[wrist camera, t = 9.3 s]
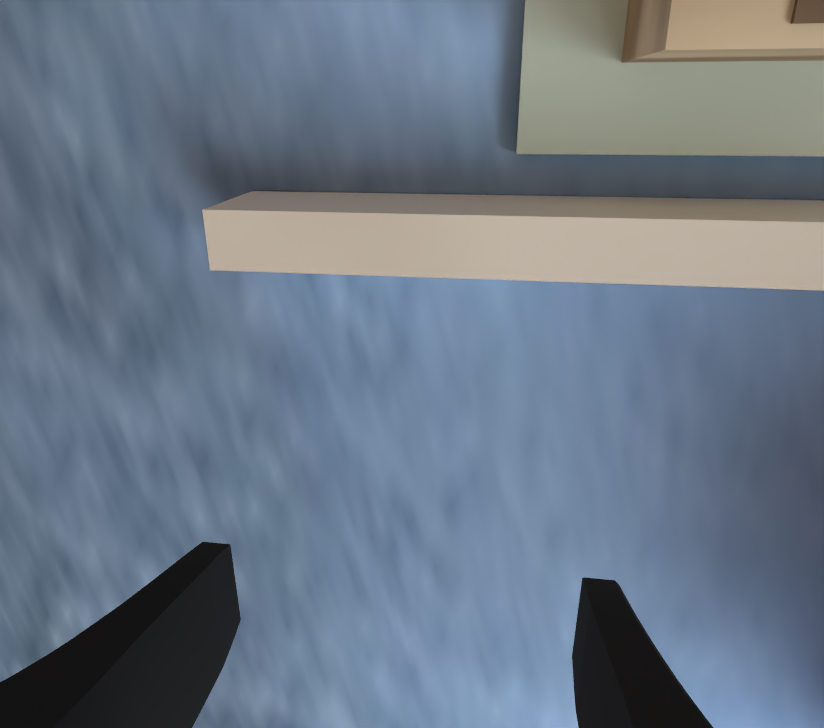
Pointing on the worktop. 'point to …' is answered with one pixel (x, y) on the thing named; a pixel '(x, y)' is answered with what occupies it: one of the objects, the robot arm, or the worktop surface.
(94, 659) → the robot arm
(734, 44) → the lettered cube
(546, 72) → the pad
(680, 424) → the worktop surface
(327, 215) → the cream board
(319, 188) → the worktop surface
